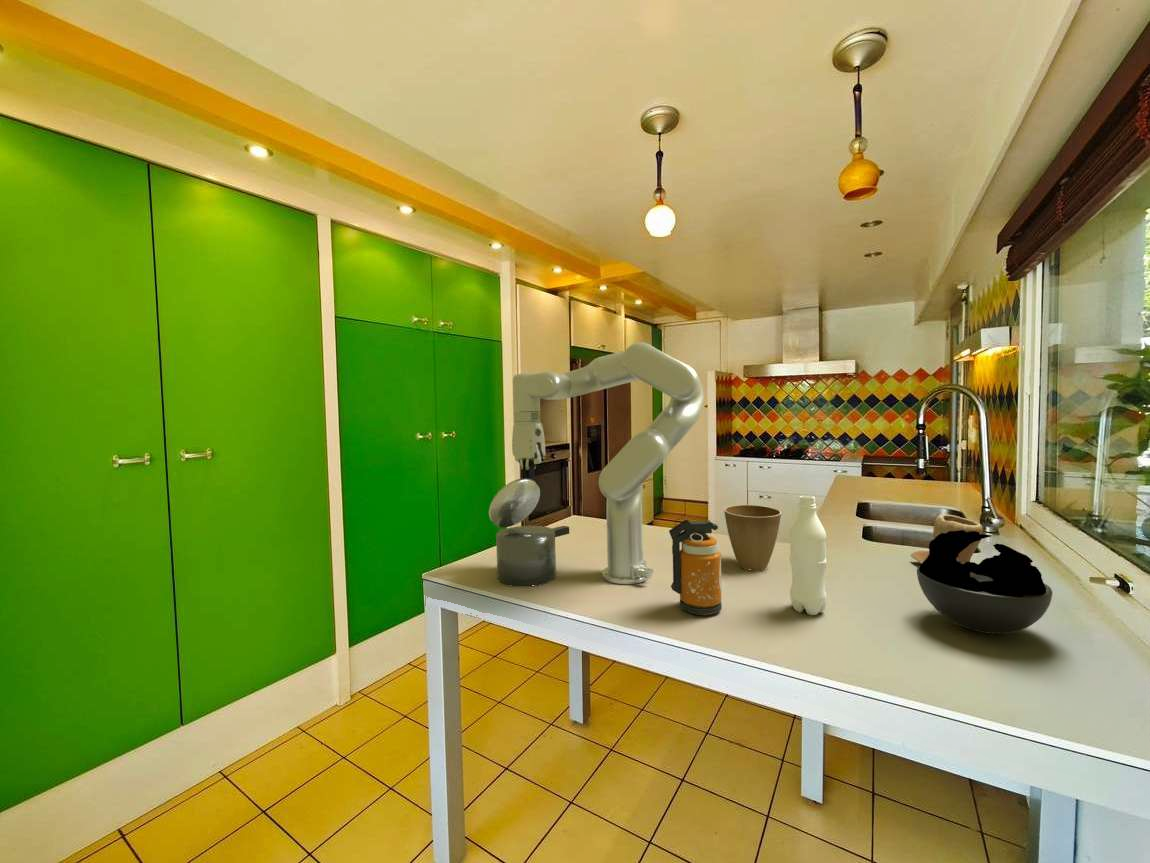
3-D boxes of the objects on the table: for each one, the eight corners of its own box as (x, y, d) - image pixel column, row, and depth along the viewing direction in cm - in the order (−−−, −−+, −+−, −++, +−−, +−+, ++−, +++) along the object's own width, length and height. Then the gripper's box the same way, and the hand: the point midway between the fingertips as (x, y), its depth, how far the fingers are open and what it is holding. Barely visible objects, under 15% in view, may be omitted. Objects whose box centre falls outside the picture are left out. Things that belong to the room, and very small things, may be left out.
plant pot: (713, 563, 135) (712, 508, 135) (752, 555, 142) (751, 502, 141) (753, 579, 122) (752, 518, 121) (793, 570, 128) (793, 511, 127)
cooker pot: (586, 569, 133) (585, 527, 133) (520, 591, 118) (519, 544, 117) (546, 556, 146) (545, 518, 146) (483, 575, 131) (481, 532, 130)
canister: (726, 617, 100) (725, 524, 99) (674, 618, 101) (673, 525, 100) (715, 600, 109) (714, 515, 108) (667, 601, 110) (665, 516, 109)
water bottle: (812, 620, 98) (811, 501, 97) (782, 607, 104) (781, 496, 103) (834, 612, 101) (833, 497, 100) (804, 601, 108) (803, 492, 106)
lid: (484, 532, 129) (479, 524, 131) (531, 521, 140) (525, 515, 142) (499, 484, 122) (493, 477, 124) (546, 477, 133) (540, 471, 135)
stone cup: (993, 583, 115) (994, 522, 114) (937, 581, 118) (938, 521, 117) (958, 563, 130) (958, 509, 129) (909, 561, 132) (909, 509, 132)
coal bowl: (919, 599, 107) (920, 517, 106) (1043, 623, 94) (1045, 530, 93) (912, 633, 91) (913, 537, 90) (1060, 666, 78) (1061, 555, 78)
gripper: (554, 417, 129) (555, 484, 130) (521, 417, 140) (523, 479, 141) (532, 418, 124) (534, 487, 125) (500, 418, 135) (502, 482, 136)
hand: (528, 482), depth 133 cm, fingers closed
